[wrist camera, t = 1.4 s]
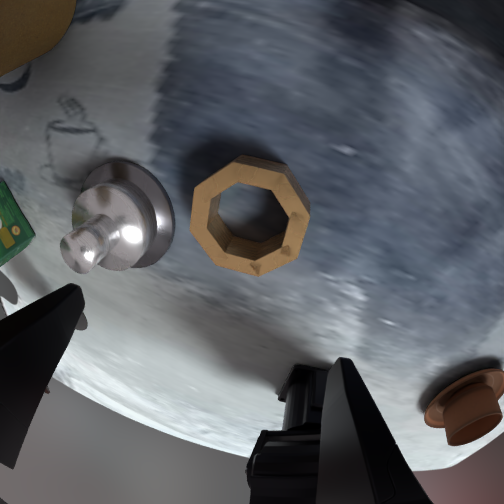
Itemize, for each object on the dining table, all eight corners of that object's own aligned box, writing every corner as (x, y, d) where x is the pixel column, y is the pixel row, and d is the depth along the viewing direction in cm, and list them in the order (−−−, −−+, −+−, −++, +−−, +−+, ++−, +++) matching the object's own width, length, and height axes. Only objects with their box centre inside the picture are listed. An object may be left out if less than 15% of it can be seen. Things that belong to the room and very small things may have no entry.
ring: (291, 264, 21) (288, 284, 19) (199, 240, 22) (187, 257, 20) (318, 173, 18) (319, 183, 16) (211, 148, 18) (198, 155, 16)
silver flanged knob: (172, 276, 24) (136, 328, 18) (87, 249, 25) (44, 288, 19) (180, 171, 19) (131, 203, 14) (82, 154, 20) (24, 179, 14)
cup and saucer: (508, 383, 25) (521, 418, 19) (437, 425, 30) (443, 460, 25) (496, 343, 22) (515, 386, 17) (407, 397, 27) (414, 441, 22)
